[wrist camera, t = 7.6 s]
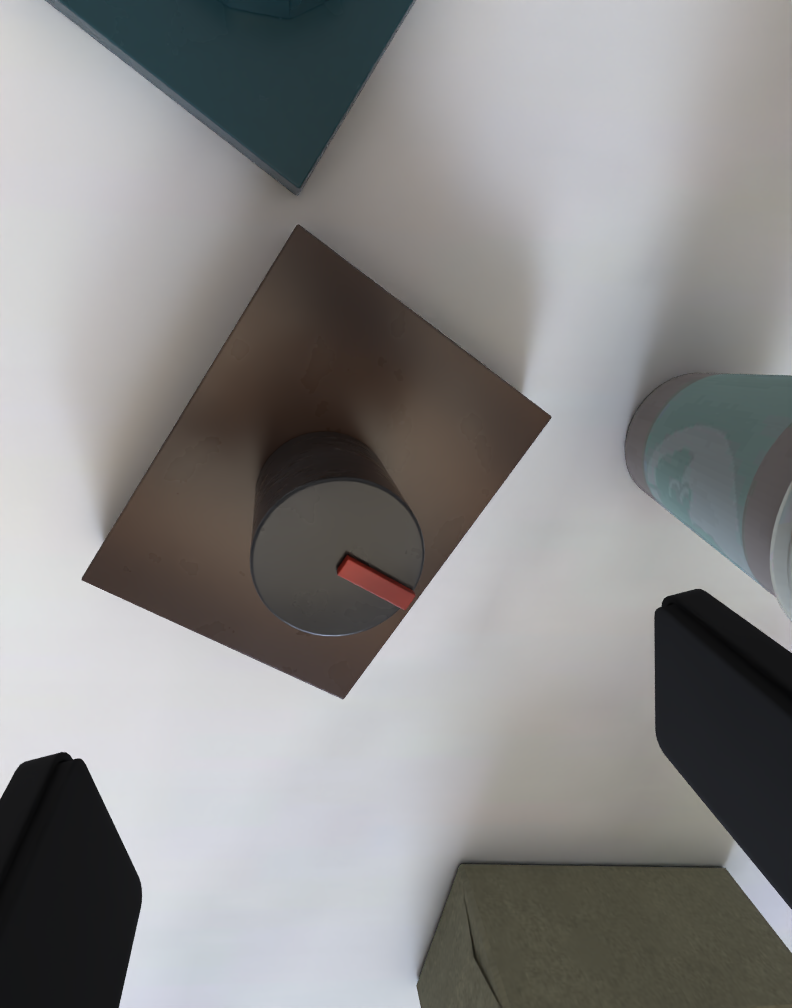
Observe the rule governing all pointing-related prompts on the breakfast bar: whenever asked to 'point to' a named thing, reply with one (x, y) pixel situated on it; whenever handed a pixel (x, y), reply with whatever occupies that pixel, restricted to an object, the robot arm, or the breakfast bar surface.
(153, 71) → the button box
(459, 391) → the panel
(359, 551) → the knob
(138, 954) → the breakfast bar surface
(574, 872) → the tissue box
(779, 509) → the coffee cup
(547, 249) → the breakfast bar surface
